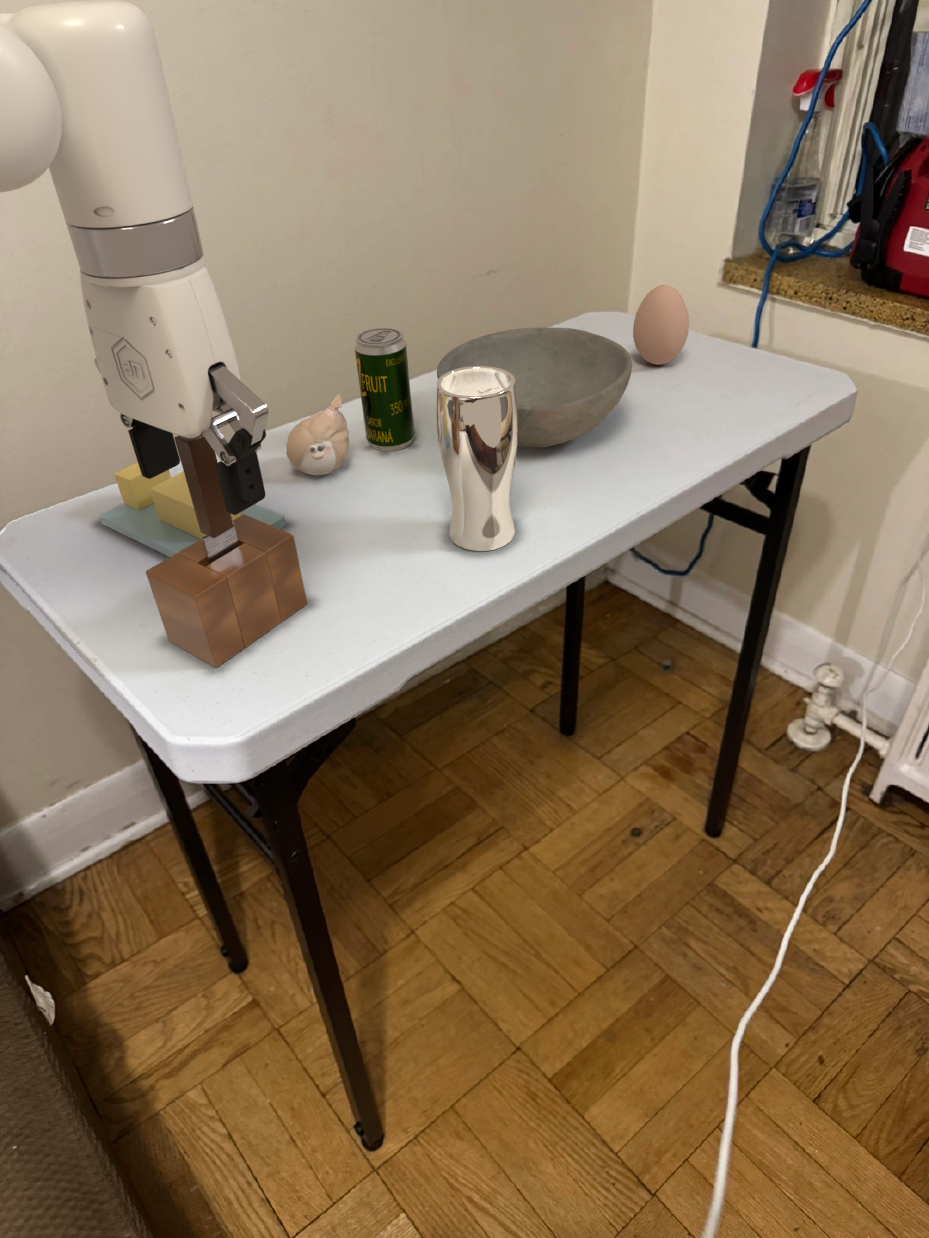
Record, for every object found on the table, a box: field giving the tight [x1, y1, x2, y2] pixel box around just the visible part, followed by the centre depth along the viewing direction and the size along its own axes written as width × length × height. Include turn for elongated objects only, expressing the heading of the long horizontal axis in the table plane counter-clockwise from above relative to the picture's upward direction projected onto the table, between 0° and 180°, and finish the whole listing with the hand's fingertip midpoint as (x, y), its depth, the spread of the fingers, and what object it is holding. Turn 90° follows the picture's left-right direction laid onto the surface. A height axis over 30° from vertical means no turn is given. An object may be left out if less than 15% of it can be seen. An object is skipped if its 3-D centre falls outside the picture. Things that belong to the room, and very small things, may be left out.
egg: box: [632, 284, 690, 366], centre depth 108 cm, size 7×7×10 cm
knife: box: [174, 433, 239, 565], centre depth 67 cm, size 3×2×17 cm, turn 143°
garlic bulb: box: [285, 393, 350, 476], centre depth 90 cm, size 7×6×8 cm
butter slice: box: [113, 461, 172, 511], centre depth 86 cm, size 4×2×4 cm, turn 143°
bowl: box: [436, 327, 633, 448], centre depth 95 cm, size 21×21×8 cm
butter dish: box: [98, 502, 287, 558], centre depth 85 cm, size 10×16×1 cm, turn 53°
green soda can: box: [354, 327, 415, 452], centre depth 93 cm, size 5×5×12 cm
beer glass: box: [436, 366, 519, 552], centre depth 76 cm, size 7×7×15 cm
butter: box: [150, 471, 241, 539], centre depth 83 cm, size 4×7×4 cm, turn 53°
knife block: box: [145, 514, 308, 669], centre depth 70 cm, size 10×6×7 cm, turn 143°
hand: (203, 487), depth 64 cm, fingers open, 9 cm apart
